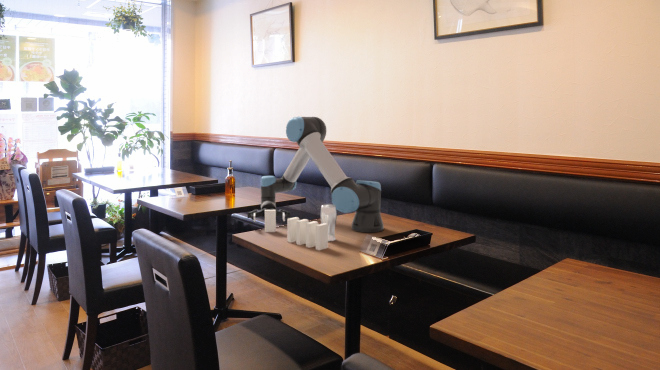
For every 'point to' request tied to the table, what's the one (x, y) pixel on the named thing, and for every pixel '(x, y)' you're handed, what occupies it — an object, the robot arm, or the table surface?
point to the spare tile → (270, 220)
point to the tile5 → (321, 236)
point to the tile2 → (291, 229)
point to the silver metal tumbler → (329, 219)
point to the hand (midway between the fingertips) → (269, 218)
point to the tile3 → (301, 231)
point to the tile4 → (311, 234)
